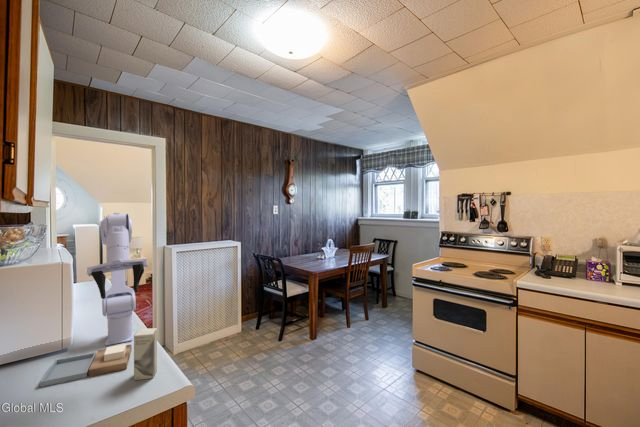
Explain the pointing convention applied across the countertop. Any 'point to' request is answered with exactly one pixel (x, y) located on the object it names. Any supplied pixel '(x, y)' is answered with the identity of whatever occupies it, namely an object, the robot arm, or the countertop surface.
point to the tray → (68, 369)
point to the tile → (115, 352)
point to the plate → (108, 363)
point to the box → (145, 353)
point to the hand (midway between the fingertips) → (119, 294)
